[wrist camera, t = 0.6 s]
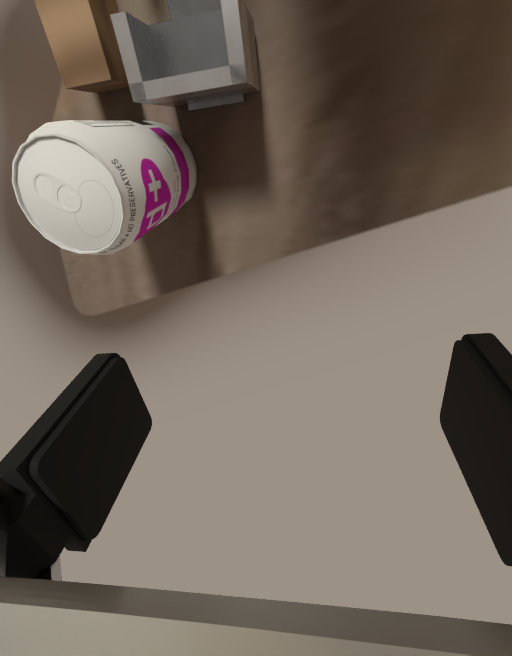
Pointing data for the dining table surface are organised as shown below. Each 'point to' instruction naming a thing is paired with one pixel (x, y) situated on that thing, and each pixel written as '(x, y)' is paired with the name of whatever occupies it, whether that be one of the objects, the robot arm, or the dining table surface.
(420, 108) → the dining table surface
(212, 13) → the bracket stand
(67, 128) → the supplement can
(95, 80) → the brown wooden block
